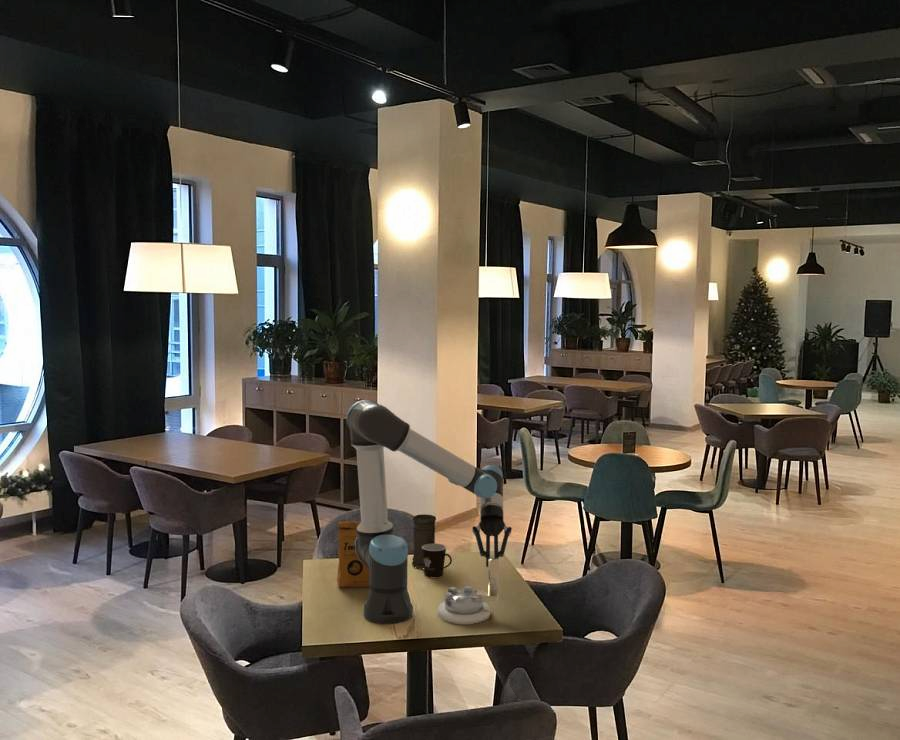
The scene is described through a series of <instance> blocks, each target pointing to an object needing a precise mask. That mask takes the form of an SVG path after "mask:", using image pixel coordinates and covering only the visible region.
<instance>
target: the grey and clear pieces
mask: <svg viewBox="0 0 900 740" xmlns="http://www.w3.org/2000/svg"><path fill="white" fill-rule="evenodd" d="M487 568H488V572H487V591H483V590H482V589H475V590H473V586H470V585H464V587H463V589H462V588H461V589H458V588H457V587H455V586H452V587H449V588H447V590H448V591H447V592H444V602H445V609H446V610H447V611H448V612H451V613H454V614H460V615H470V614H475V613H479V612H481V611H482V610H483V606H484V603H485V602H484V601H487V602H489V601H490V602H495V603H496V602H498V599H499V597H500V596H499V592H498V591H499V589H498V588H499V558H498V559H497V558H489V559H488V567H487Z"/></svg>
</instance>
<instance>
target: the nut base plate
mask: <svg viewBox="0 0 900 740" xmlns="http://www.w3.org/2000/svg"><path fill="white" fill-rule="evenodd" d="M437 615H438V616H437V617H438V618H440V619H441V620H442V621H445V622H447V623H450V624H455V625H474V623H476V624H478V623H477V622H480V623H482V622H481V621H483V622H485V621H487V620H488V619H489V618H490V617H489V616H491V607H490V605H488V603H486V602H484V606H483V610H482V611H481V612H479V613H475V614H470V615H460V614H454V613H451V612H448V611H447V610H446V609H445V601H443V602H441V603H440V604H438V607H437ZM488 617H489V618H488ZM487 618H488V619H487ZM486 619H487V620H486ZM484 620H485V621H484Z"/></svg>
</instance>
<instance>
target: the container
mask: <svg viewBox="0 0 900 740" xmlns="http://www.w3.org/2000/svg"><path fill="white" fill-rule="evenodd" d="M412 521H413V551H412V552H413V554H412V555H413V557H412V562H411V566H412V567H413V566H414V567H413V568H415V567H416V568H415V569H418V568H424V564H423V554H422V546H423V545H426V544H436V527H435V526H436V525H435V524H436V521H437V518H436V515H432V514H416V515H414V516H413V517H412Z"/></svg>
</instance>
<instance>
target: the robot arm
mask: <svg viewBox="0 0 900 740" xmlns="http://www.w3.org/2000/svg"><path fill="white" fill-rule="evenodd" d="M346 425H347V426H348V427H347V428H348V429H349V430H350V445H351V447H353V448H354V449H355V450H356V462H357V463H356V464H357V465H356V466H357V478H358V493H359V506H360V507H359V508H360V522H361V523H360V524H359V525H358V527H357V537H356V540H355V550H356V554H357V556H358V558H359V559H360V560H361V562H363V563H364V564H365V565H366V567H367V568H368V569H369V584H370V585H369V587H368V588H369V590H368V593H367V596H366V601H365V604H364V606H363V617H364V619H366V620H368V621H370V622H372V623H373V622H374V623H378V624H397V623H401V622H405V621H407V620H409V619H411V618H412V617H413V616H414V615H413V614H414V606H413V604H412V601H411V597H410V594H409V591H408V569H409V568H408V565H409V564H408V563H409V561H408V557H409V549H408V544H407V542H406V539H404V538H403V537H401V536H397V535H394V524H393V523H392V522H391V521H389V517H388V514H389V513H388V499H387V497H388V496H387V485H386V484H387V482H386V471H385V470H386V467H385V452H384V448H386V449H387V450H390V451H392V452H397V451H398V452H400V453H401V454H404V455H405V456H407V457H408V458H410V459H412V460H414V461H416V462H418V463H419V464H421V465H423V466H425V467H427V468H428V469H430V470H432V471H434V472H435V473H437V474H439V475H441V476H442V477H444V478H445V479H447V481H448V482H449V483H450V484H453V485H455V486H458V487H461V488H462V489H465V490H466V491H468V492H470V493H472V494H474V495H475V496H476V497H478V498H480V518H479V519H480V521H479V523H478V525H477V526H476V525H474V526H472V533H473V535H474V537H475V539H476V543H477V546H478V550H479V555H480V556H481V558H482V557H484V558H485V566H486V568H488V559H489V558H497V559H498V560H499V558H503V557H504V555H505V552H506V548H507V544H508V539H509V537H510V535H511V534H512V529H513V528H512V527H511V526H507V525H506V523H505V522H504V476H503V470H502V469H501V468H500V467H498V466H497V465H489V464H488V465H485V466H484V467H482V468H479V467H476V466H474V465H473V464H471V463H469V462H467V461H466V460H464V459H462V458H461V457H459V456H457V455H456V454H454V453H453V452H450V451H448V450H447V449H445V448H444V447H442V446H440V445H438V444H437V443H435V442H433V441H432V440H431V439H428V438H426V437H425V436H423V435H422V434H420V433H418V432H417V431H414V430H413V429H412V428H411V425H410V424H409V423H407V422H406V421H404V420H403V419H402V418H400V417H399V416H397V415H396V414H395V413H394V412H392V411H391V410H390V409H389V408H388V407H386V406H384V405H382V404H379V403H378V402H377V401H374V400H370V399H369V400H367V399H364V400H363V399H362V400H358V401H356V402H355V403H353V404H352V405H351V406H350V408H349V409H348V411H347V413H346ZM481 531H482V533H483V534H484V535H485V541H486V542H485V549H484V545H483V540H482V537H481V533H480V532H481ZM502 532H503V533H504V535H503V538H502V543H501V547H500V549H499V535H501V533H502ZM491 537H493V546H494V547H493V554H491ZM499 550H500V551H499Z"/></svg>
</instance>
